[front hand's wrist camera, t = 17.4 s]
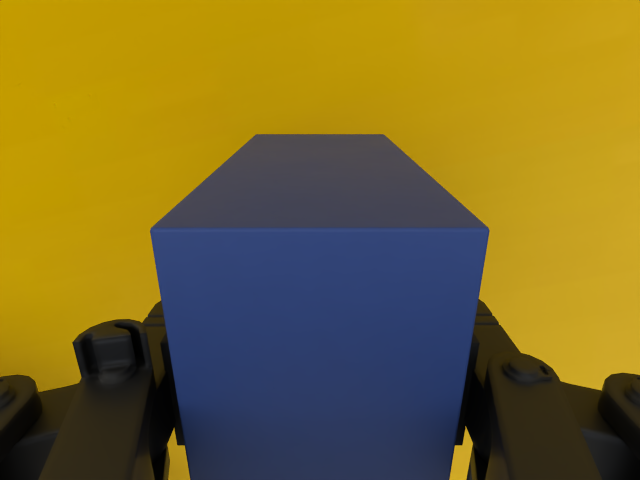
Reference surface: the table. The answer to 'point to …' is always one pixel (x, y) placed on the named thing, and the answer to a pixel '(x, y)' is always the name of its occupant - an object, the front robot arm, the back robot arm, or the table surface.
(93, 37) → the table surface
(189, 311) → the brick
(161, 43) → the table surface
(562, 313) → the table surface
